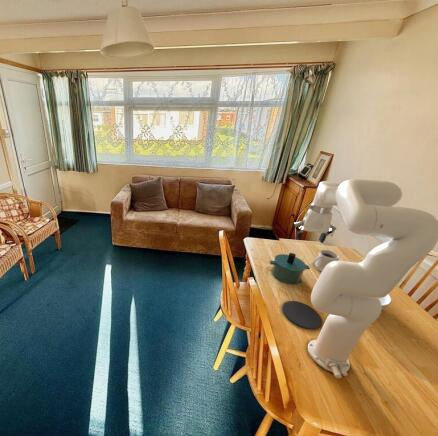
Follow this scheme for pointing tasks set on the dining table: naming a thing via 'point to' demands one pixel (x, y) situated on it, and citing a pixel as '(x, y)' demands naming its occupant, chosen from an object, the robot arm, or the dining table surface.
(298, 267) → the lid
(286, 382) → the dining table surface
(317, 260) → the mug
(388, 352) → the dining table surface
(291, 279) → the pot
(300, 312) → the mat
